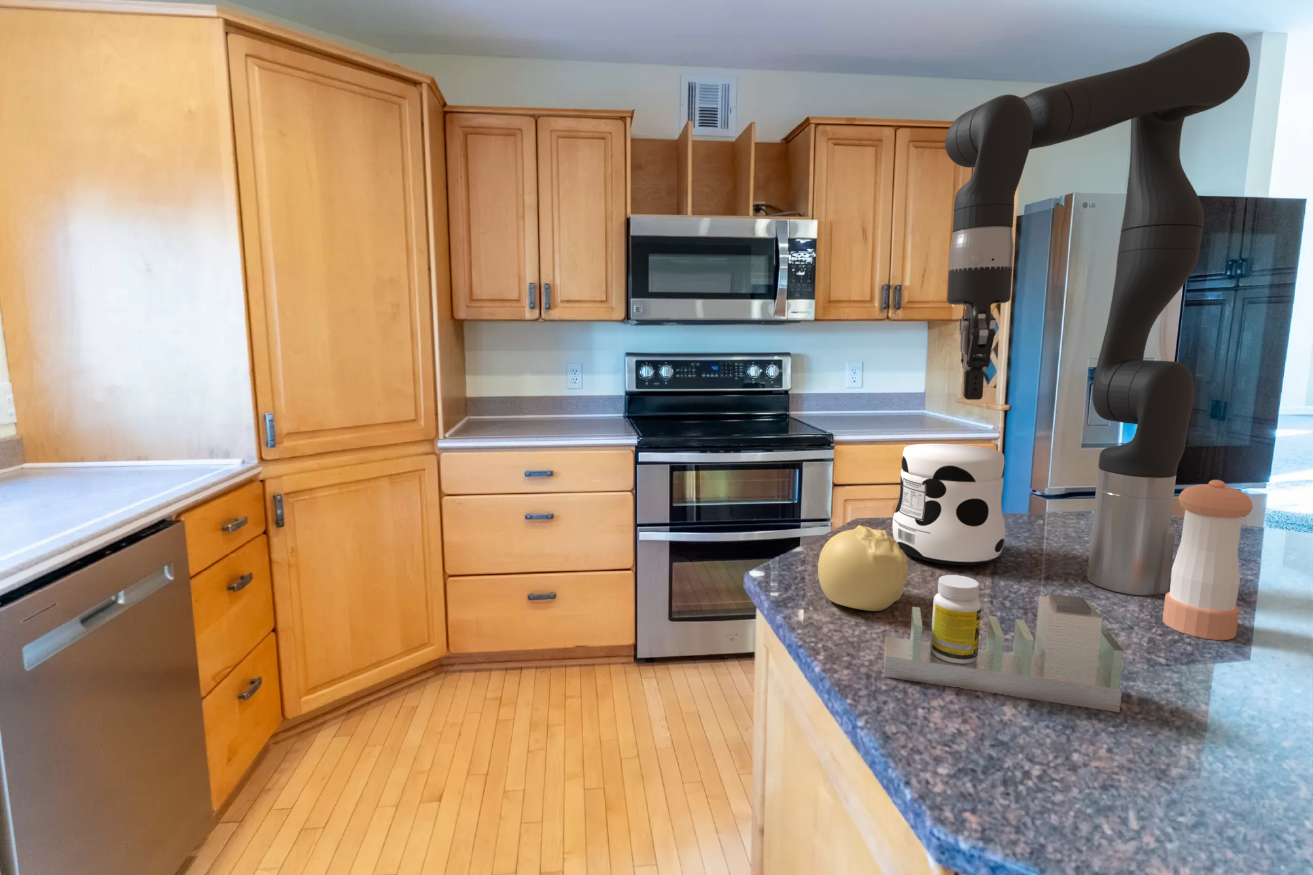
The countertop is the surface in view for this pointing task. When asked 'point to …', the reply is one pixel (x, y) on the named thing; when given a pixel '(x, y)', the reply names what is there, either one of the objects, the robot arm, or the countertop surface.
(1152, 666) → the countertop surface
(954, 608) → the supplement bottle
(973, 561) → the milk container
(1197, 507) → the salt shaker
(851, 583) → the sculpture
